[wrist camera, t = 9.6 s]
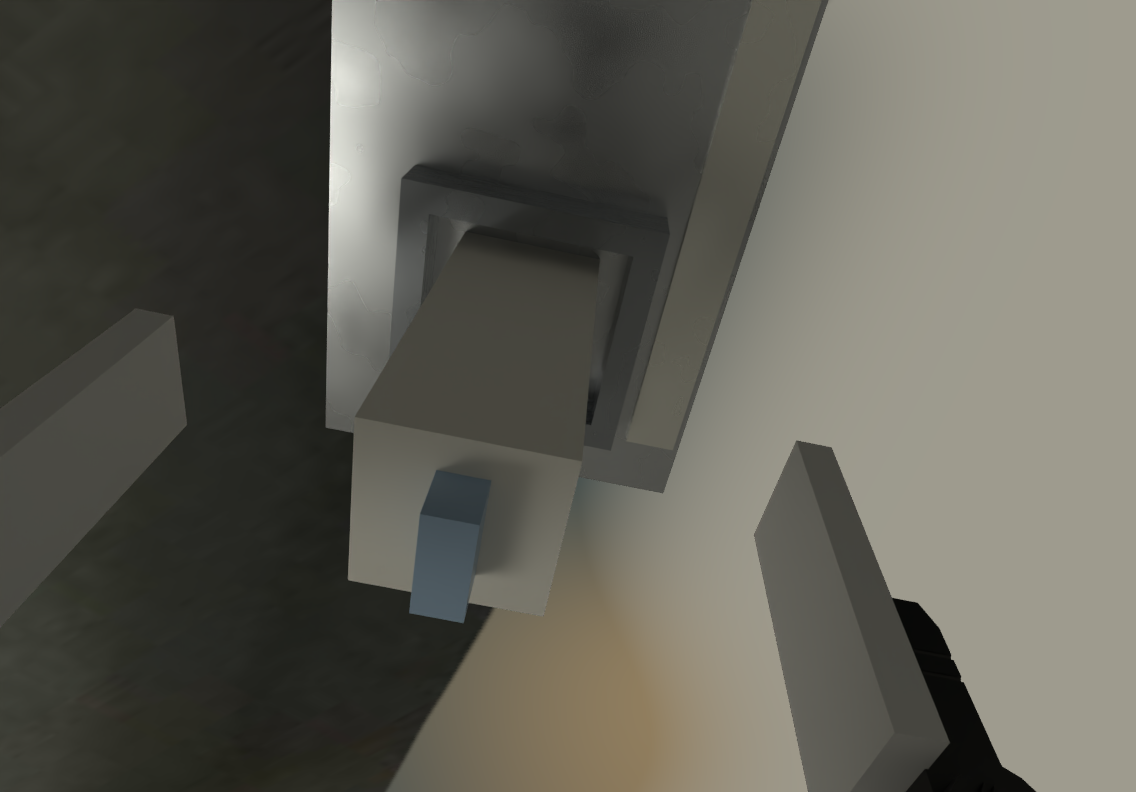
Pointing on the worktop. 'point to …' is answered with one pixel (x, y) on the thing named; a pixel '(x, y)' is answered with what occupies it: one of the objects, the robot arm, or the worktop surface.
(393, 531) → the plug
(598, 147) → the panel
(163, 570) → the worktop surface
